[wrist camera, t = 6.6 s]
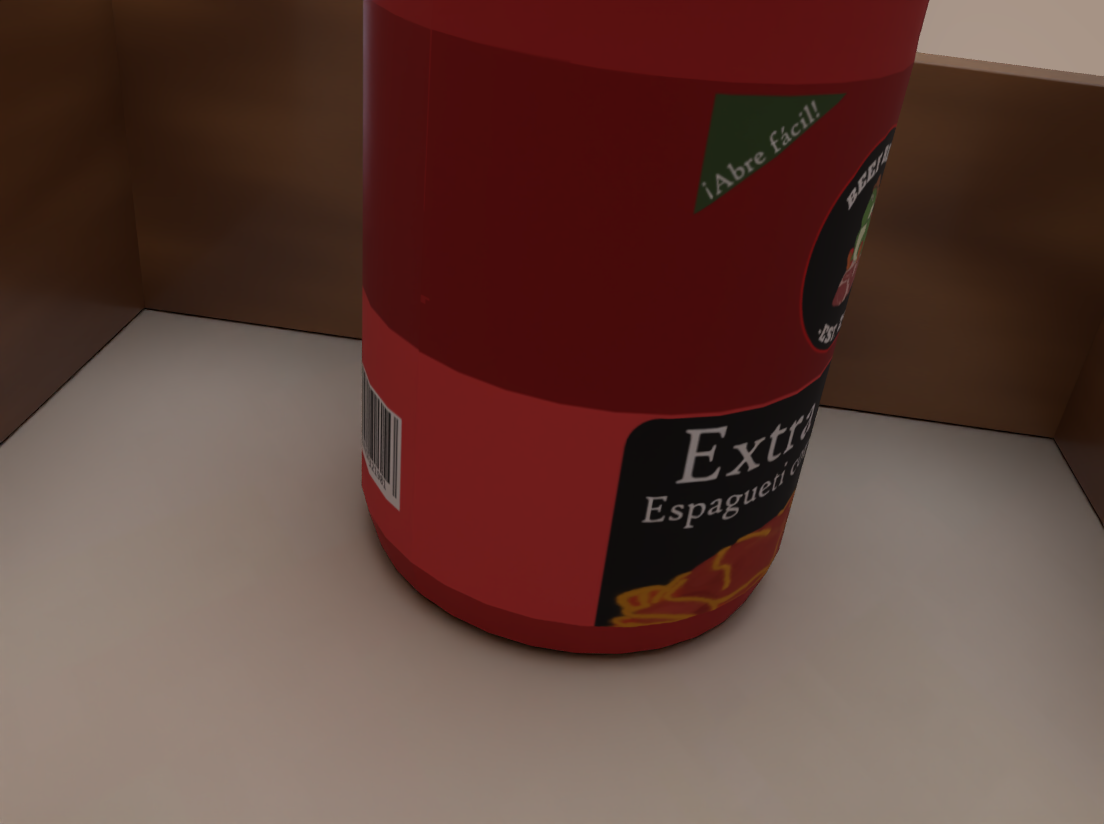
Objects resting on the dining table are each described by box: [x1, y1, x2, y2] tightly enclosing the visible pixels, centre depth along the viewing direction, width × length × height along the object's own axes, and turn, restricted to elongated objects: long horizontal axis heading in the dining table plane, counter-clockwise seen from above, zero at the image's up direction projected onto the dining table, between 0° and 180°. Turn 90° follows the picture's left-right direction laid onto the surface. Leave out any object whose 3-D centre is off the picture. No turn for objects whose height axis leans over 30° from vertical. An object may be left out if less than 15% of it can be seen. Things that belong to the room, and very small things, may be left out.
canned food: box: [362, 0, 929, 654], centre depth 17 cm, size 8×8×11 cm
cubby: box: [0, 0, 1104, 525], centre depth 18 cm, size 24×13×8 cm, turn 84°
